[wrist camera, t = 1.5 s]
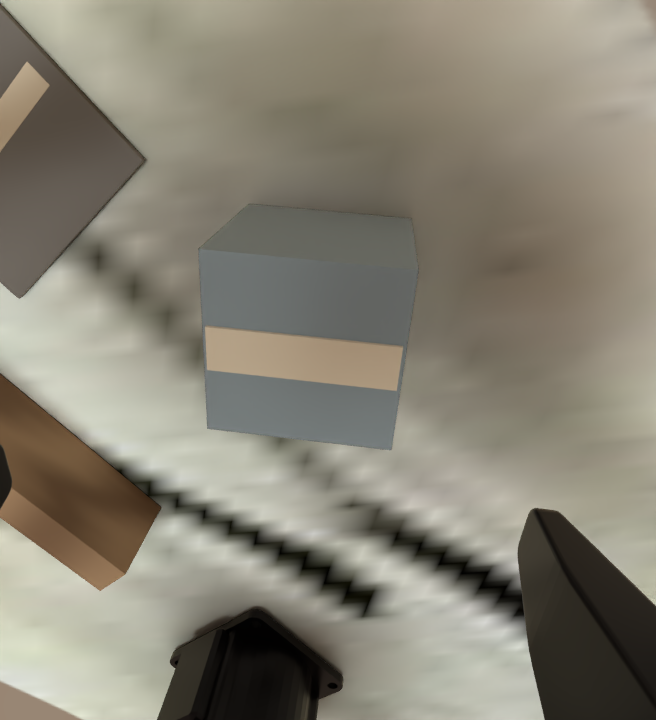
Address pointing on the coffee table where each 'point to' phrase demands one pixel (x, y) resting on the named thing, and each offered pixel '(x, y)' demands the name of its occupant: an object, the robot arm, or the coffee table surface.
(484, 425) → the coffee table surface
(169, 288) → the coffee table surface
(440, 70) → the coffee table surface
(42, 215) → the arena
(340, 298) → the cube
